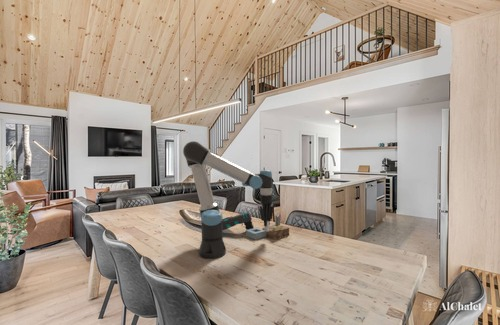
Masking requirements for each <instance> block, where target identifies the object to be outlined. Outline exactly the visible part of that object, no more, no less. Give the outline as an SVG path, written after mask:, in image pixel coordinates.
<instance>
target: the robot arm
mask: <svg viewBox="0 0 500 325" xmlns="http://www.w3.org/2000/svg"><path fill="white" fill-rule="evenodd" d="M182 153H183V156H184V158H185V160H186V163H187V167H188V168H189V169H191V173H192V177H193V182H194V184H195V189H196V192H197V196H198V200H199V204H200V207H199V214H200V222H201V242H200V244H199V249H198V256H199V257H200V258H203V259H218V258H220V257H223V256H225V255H226V253H227V248H226V246H225V245H226V244H225V242H224V239H223V230H222V219H224V218H223V213H222V212H221V211H220V209H219V205H218V203H217V202H215V199H214V194H213V190H212V187H211V183H210V180H209V175H208V172H207V171H208V170H207V168H206V166H207V167H210V168H212V169H213V170H216V171H218V172H219V173H222V174H224V175H226V176H228V177H230V178H232V179H234V180H235V181H238V182H240V183H241V185H242V187H250V188H252V189H254V190H255V189H257V190H258V189H260V192H259V193H260V201H261V202H260V205H258V206H257V209H258V212H259V215H260V220H261V221H263V226H264V228H265V231H267V232H268V231H269V226H271V221H272V220H273V215H274V208H275V206H276V204H275V203H273V173H272V170H260V171H259V173H252V172H250V171H249V170H247V169H245V168H243V167H241V166H239V165H237V164H235V163H232V162H230V161H228V160H227V159H225V158H223V157H221V156H219V155H218V154H215V153H212V152H211V149H209V148H207V147H206V146H204V145H202V144H201V143H200V142H197V141H196V140H195V141H194V140H193V141H190V142H187V143H186V144H185V145H184V147H183V150H182Z"/></svg>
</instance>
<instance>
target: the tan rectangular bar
mask: <svg viewBox="0 0 500 325" xmlns="http://www.w3.org/2000/svg"><path fill="white" fill-rule="evenodd" d="M282 226H283V225H282V224H280V225H278V226H274V227H273V231H277V230H281V229H282Z"/></svg>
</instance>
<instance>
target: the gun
mask: <svg viewBox="0 0 500 325" xmlns="http://www.w3.org/2000/svg"><path fill="white" fill-rule="evenodd" d="M250 213H251V212H249V211H247V212H243V213H240V214H237V215H234V216H227V217H225V218H223V219H222V231H223V230H227V229H228V228H230V227H231V228H232V227H235V226H237V225H241V226H242V227H243V225H244V226H245V227H244V229H245V230H249V229H253V228H255V227H254V224H253V222H252V216H251V214H250Z"/></svg>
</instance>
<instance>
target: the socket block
mask: <svg viewBox="0 0 500 325" xmlns="http://www.w3.org/2000/svg"><path fill="white" fill-rule="evenodd" d="M274 226H275V224H273V225H269V231H268V232H267V231H266V238H270V239H272V240H277V239H281V238H284V237H288V236H290V227H287V226H284V225H282V229H281V230H277V231H273V227H274ZM261 229H263V230H265V227H262V228H261Z"/></svg>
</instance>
